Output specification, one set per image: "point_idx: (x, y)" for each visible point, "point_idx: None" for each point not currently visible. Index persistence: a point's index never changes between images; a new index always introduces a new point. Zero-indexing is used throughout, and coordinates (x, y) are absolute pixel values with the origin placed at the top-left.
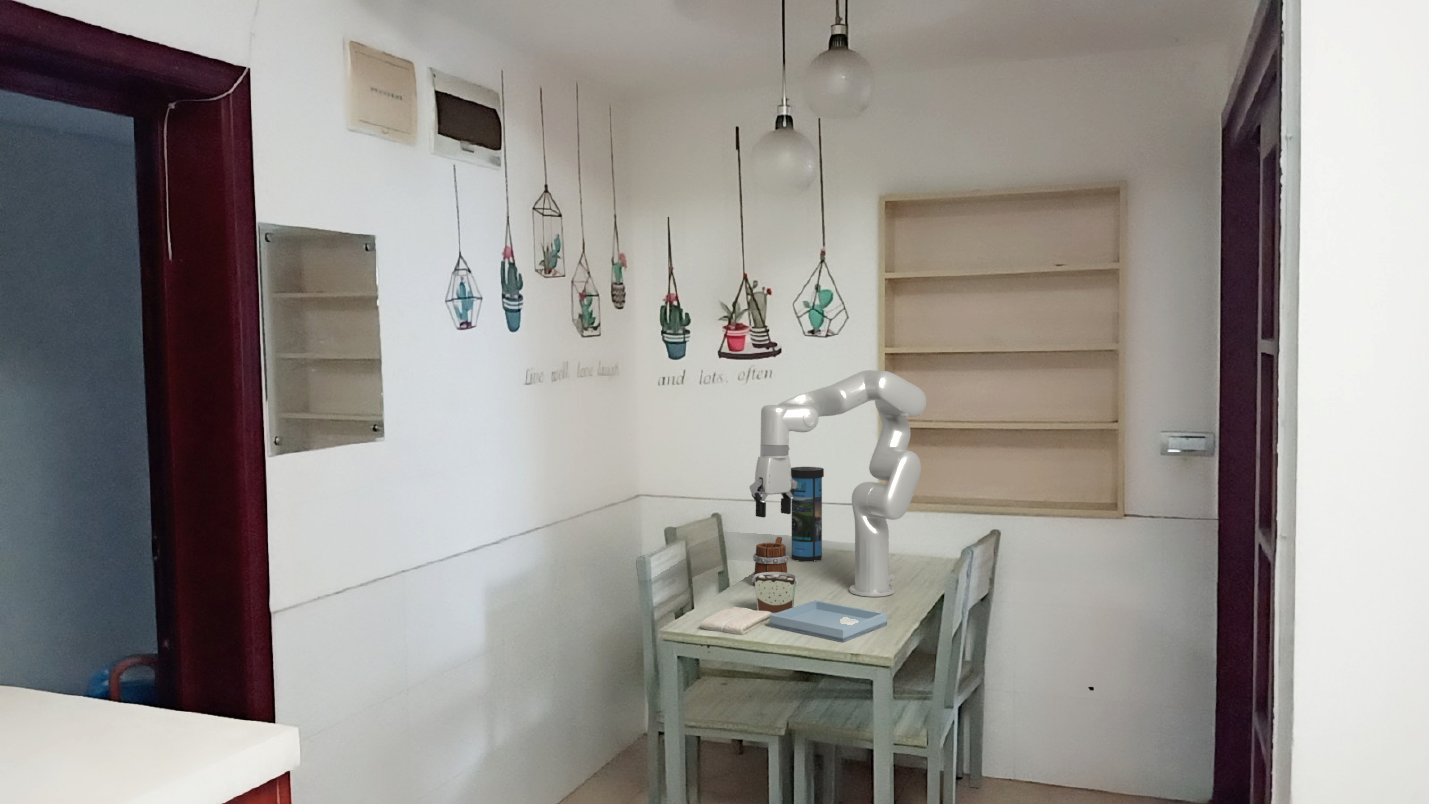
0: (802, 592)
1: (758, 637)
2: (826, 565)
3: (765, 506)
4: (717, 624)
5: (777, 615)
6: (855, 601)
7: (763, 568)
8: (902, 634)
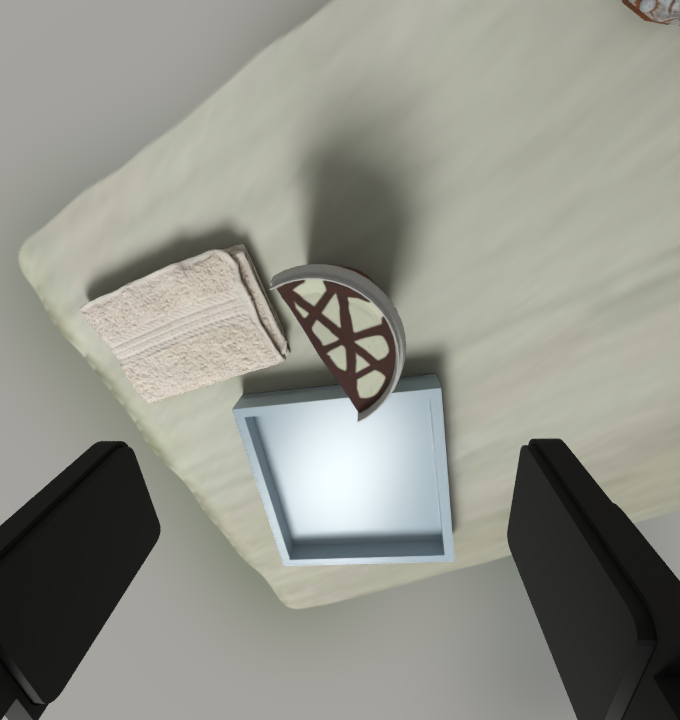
0: (634, 164)
1: (175, 430)
2: None
3: (76, 652)
4: (108, 345)
5: (245, 423)
6: (616, 375)
7: None
8: (414, 580)
